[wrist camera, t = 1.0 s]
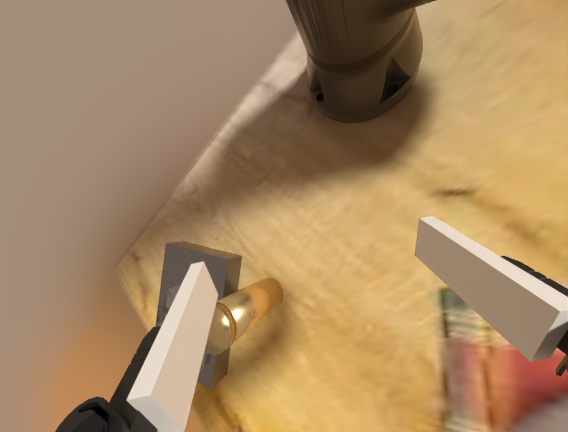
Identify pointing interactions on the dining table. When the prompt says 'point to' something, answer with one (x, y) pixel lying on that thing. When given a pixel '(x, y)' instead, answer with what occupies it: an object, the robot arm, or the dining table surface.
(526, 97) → the dining table surface
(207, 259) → the jig
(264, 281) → the amber cylindrical peg
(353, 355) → the dining table surface
